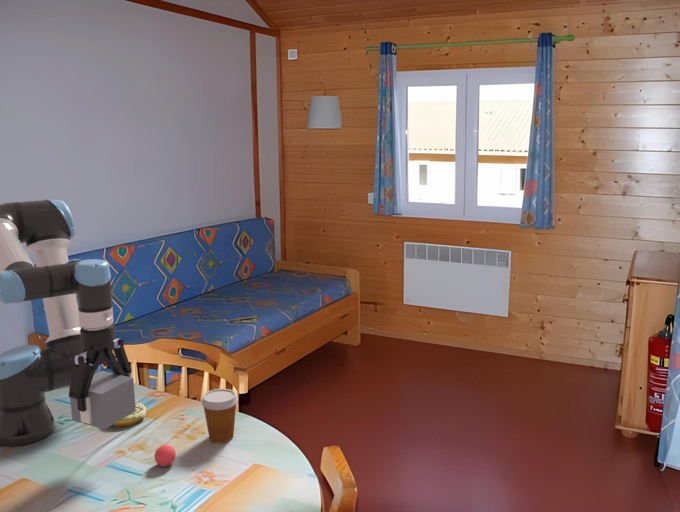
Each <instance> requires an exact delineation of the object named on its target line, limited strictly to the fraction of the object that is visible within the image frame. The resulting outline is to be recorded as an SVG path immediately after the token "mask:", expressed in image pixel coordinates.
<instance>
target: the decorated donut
mask: <svg viewBox="0 0 680 512" xmlns="http://www.w3.org/2000/svg"><path fill="white" fill-rule="evenodd" d="M135 410H136V411H135V412H133V413H132V414H130V415H128V416H126V417H125V418H123V419H121V420H120V421H118V422H116V423H114V424H113V425H112V426H114V427H125V426H126V427H127V426H128V425H129V426H133V425H135V424H137V423H139V422H140V421H141V420H143V419H144V418H146V414H147V407H146V406H145V405H144V404H142V403H141V402H136V401H135Z"/></svg>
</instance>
